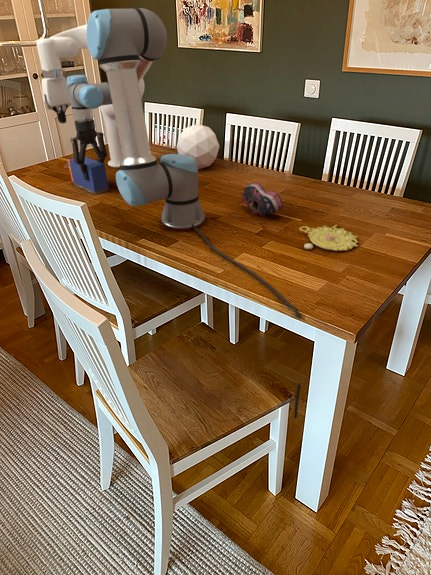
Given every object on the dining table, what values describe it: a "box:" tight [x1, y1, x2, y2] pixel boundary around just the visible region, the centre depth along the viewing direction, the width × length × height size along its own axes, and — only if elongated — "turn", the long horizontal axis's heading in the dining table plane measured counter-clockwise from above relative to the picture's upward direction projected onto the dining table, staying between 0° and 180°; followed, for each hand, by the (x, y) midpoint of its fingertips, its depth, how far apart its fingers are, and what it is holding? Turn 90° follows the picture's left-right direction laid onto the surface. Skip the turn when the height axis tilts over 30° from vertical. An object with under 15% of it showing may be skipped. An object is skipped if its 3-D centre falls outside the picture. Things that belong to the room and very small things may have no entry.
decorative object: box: [299, 224, 359, 252], centre depth 141 cm, size 21×2×20 cm
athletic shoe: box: [238, 182, 284, 217], centre depth 160 cm, size 11×22×12 cm
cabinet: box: [68, 156, 110, 195], centre depth 186 cm, size 17×7×11 cm, turn 44°
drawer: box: [63, 159, 74, 183], centre depth 190 cm, size 22×5×9 cm, turn 44°
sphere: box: [175, 123, 221, 170], centre depth 203 cm, size 19×20×20 cm
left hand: (62, 122), depth 185 cm, fingers closed
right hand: (94, 177), depth 183 cm, fingers closed on cabinet, 7 cm apart
